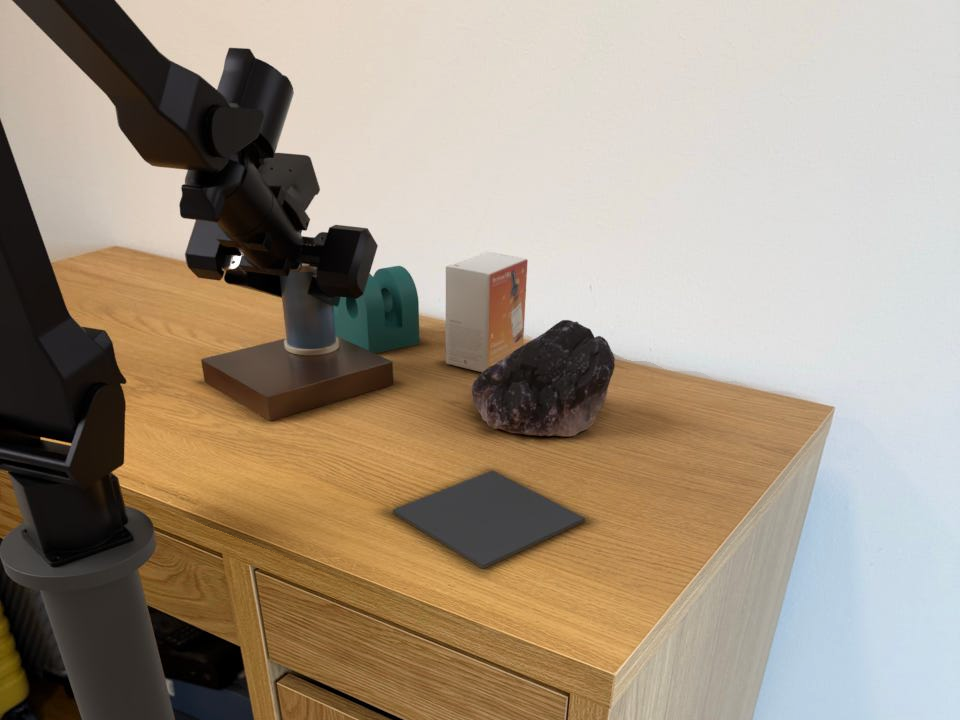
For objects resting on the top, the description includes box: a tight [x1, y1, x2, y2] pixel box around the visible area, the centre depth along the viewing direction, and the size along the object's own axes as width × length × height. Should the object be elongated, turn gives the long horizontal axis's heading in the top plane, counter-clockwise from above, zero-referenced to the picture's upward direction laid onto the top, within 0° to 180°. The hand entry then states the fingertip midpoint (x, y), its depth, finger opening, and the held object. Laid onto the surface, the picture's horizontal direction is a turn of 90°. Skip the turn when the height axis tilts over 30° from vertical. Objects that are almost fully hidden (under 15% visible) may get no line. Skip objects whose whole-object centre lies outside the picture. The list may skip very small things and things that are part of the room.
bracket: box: [333, 265, 420, 354], centre depth 108 cm, size 18×7×8 cm, turn 36°
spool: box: [279, 263, 339, 356], centre depth 95 cm, size 6×6×9 cm
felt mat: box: [392, 470, 586, 570], centre depth 74 cm, size 11×11×1 cm
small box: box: [445, 250, 529, 373], centre depth 99 cm, size 8×6×10 cm
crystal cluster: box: [471, 319, 616, 437], centre depth 88 cm, size 13×14×10 cm
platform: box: [200, 336, 394, 422], centre depth 95 cm, size 15×13×2 cm
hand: (314, 299), depth 96 cm, fingers closed on spool, 5 cm apart
